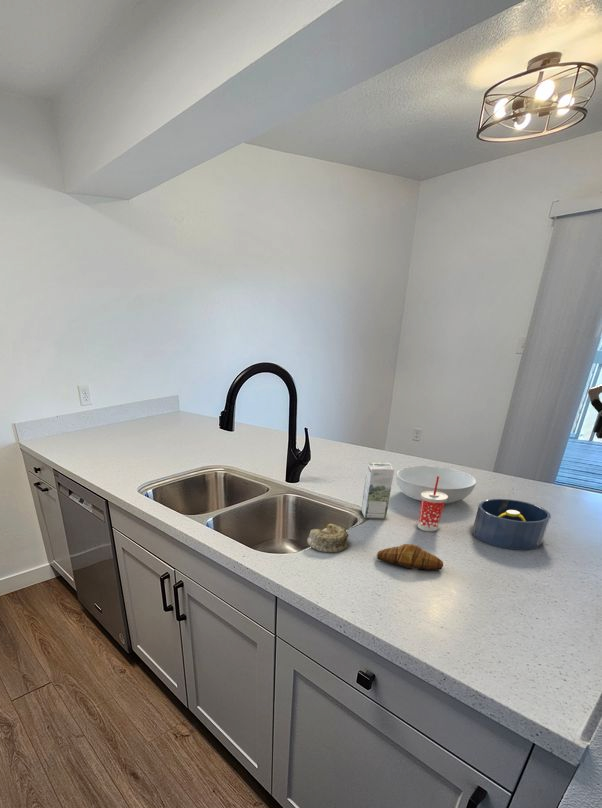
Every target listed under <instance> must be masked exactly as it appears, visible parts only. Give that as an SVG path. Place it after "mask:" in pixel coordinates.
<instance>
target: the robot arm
mask: <svg viewBox="0 0 602 808" xmlns="http://www.w3.org/2000/svg"><path fill="white" fill-rule="evenodd" d="M601 393H602V383H601V384H598V385H595V386H592V387H589V388H588V389H587V395H588V399H589V402H590V405H591V406H592V407H593V408H594V409H595V410H596V412H597V413H598V416H597V419H596V421H595V424H594V427H593V431H592V432H593V433H595V437H596V438H597V439H600V440H601V439H602V401H601V399H600V394H601Z"/></svg>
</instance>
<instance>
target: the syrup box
mask: <svg viewBox="0 0 602 808" xmlns="http://www.w3.org/2000/svg"><path fill="white" fill-rule="evenodd" d="M394 475H395V469H394V467H393V466H392V464H391V463H390V462H368V463H367V466H366V474H365V482H364V489H363V496H362V503H361V509H360V510H361V512H362V515H363V518H364V519H376V520H377V519H378V520H380V519H381V520H385V519H387V515H388V509H389V502H390V496H391V492H392V485H393V480H394Z"/></svg>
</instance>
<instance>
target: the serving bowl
mask: <svg viewBox="0 0 602 808" xmlns="http://www.w3.org/2000/svg"><path fill="white" fill-rule="evenodd" d="M437 476H439V480H438V485H437V490H436V492H441V493H444V494H446V495H447V496H448V499H447V501H446V502H445V504H451V503H456V502H459V501H462V500H464V499H465V498H467V497H468V496H469V495H471V494H472V492H473V490H474V489H475V487H476V485H477V479H476V478H475V477H474V476H473V475H471V474H469V473H467V472H464V471H462V470H458V469H455V468H450V467H446V466H437V465H412V466H407V467H403V468H401V469H398V471H396V476H395V477H396V478H395V479H396V485H397V486H398V488H399V490H400V491H401V492H402V493H403V494H404V495H405V496H407V497H409V498H411V499H413V500H417V501H420V502H421V498H420V497H421V493H422V492H425V491H434V489H435V484H436V480H437Z"/></svg>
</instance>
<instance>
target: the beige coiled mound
mask: <svg viewBox="0 0 602 808" xmlns="http://www.w3.org/2000/svg"><path fill="white" fill-rule="evenodd" d="M348 538H349V532H348V531H347V530H346V529H345V528H344V526H343V527H342V526H340V525H337V524H335V523H328V524H327V525H326V528H323V529H319V528H313V529H311V530H310V532H309V534H308V537H307V539H306V540H307V542H306V543H307V545H308V546H309V547H310V548H312V549H315V550H316V551H319V552H323V553H338V552H341V551H344V550H346V549H347V548H348V547H349V541H348Z"/></svg>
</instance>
